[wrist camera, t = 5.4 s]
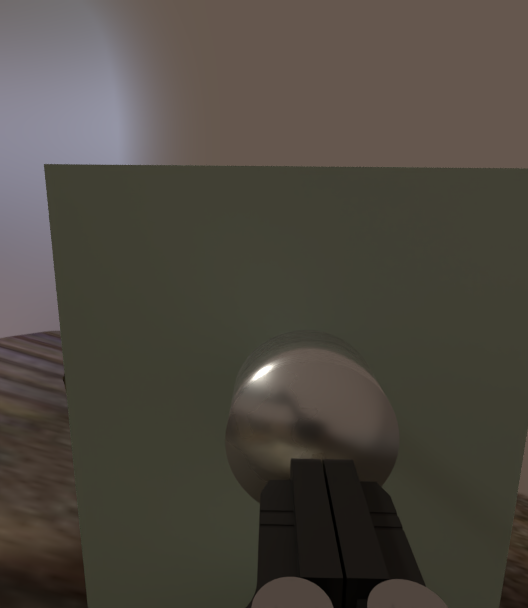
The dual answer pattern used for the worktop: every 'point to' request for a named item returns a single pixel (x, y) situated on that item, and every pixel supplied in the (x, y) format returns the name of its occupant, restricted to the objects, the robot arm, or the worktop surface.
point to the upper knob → (308, 411)
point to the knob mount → (274, 321)
